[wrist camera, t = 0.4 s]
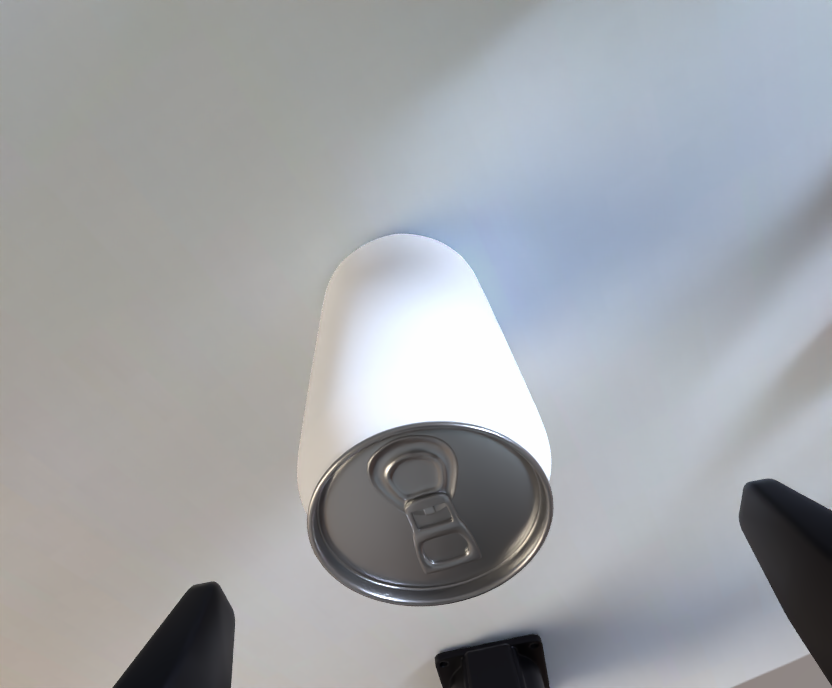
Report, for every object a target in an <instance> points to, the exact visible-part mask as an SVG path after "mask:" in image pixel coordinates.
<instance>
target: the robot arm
mask: <svg viewBox="0 0 832 688" xmlns="http://www.w3.org/2000/svg"><path fill="white" fill-rule="evenodd" d="M739 522H740V526H741V529H742V531H743V533H744V535H745V537H746V539H747V541H748V543H749V545H750V546H751V548H752V550H753V552H754V554H755V556H756V558H757V560H758V562H759V564H760V566H761V568H762V570H763V572H764V574H765V575H766V577H767V579H768V581H769V583H770V585H771V587H772V589H773V591H774V593H775V595H776V597H777V599H778V601H779V603H780V604H781V606H782V608H783V610H784V612H785V613H786V615H787V617H788V619H789V620H790V622H791V624H792V625H793V627H794V628H795V630H796V632H797V633H798V635H799V636H800V638H801V639H802V641H803V642H804V644H805V646H806V647H807V649H808V650H809V652H810V653H811V655H812V656H813V658H814V659H815V661H816V662H817V664H818V665H819V667H820V668H821V670H822V672H823V673H824V675H825V676H826V678H827V679H828V681H829V682H830V684H831V685H832V511H831V510H829V509H828V508H826V507H824V506H822V505H820V504H818V503H817V502H815V501H813V500H811V499H809V498H807V497H806V496H804V495H802V494H800V493H798V492H796V491H795V490H793V489H791V488H789V487H787V486H785V485H784V484H782V483H780V482H778V481H776V480H773V479H762V480H757V481H751V482H748V483H746V485H745V486H744V488H743V494H742V500H741V506H740V512H739ZM234 632H235V616H234V612H233V609H232V607H231V605H230V603H229V602H228V600H227V598H226V596H225V594H224V592H223V591H222V589H221V587H220V585H219V584H218V583H216V582H207V583H202V584H196V585H193V586H192V587H191V588H189V589H188V591H187V592H186V593H185V594H184V596H183V597H182V598H181V600H180V601H179V602H178V603H177V605H176V606H175V607H174V609H173V610H172V611H171V612H170V614H169V615H168V616H167V618H166V619H165V620H164V622H163V623H162V624H161V625H160V627H159V628H158V629H157V631H156V632H155V633H154V635H153V636H152V637H151V638H150V640H149V641H148V642H147V644H146V645H145V646H144V648H143V649H142V650H141V651H140V653H139V654H138V655H137V657H136V658H135V659H134V661H133V662H132V663H131V664H130V666H129V667H128V668H127V670H126V671H125V672H124V674H123V675H122V676H121V677H120V679H119V680H118V681H117V683H116V684H115V685H114V686H113V688H231V678H232V663H233V648H234ZM435 664H436V668H437V671H438V674H439V677H440V681H441V684H442V687H443V688H550V687H549V681H548V675H547V669H546V663H545V657H544V651H543V646H542V642H541V638H540V636H538V635H535V634H532V635H527V636H522V637H517V638H512V639H507V640H502V641H498V642H493V643H488V644H483V645H478V646H473V647H468V648H463V649H458V650H454V651H449V652H444V653H440V654H438V655H436V657H435Z"/></svg>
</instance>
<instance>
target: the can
mask: <svg viewBox="0 0 832 688" xmlns="http://www.w3.org/2000/svg"><path fill="white" fill-rule="evenodd" d="M550 474H551V451H550V446H549V441H548V438H547V434H546V431H545V428H544V425H543V423H542V420H541V418H540V415H539V413H538V411H537V408H536V406H535V404H534V401H533V399H532V397H531V395H530V392H529V390H528V388H527V386H526V383H525V381H524V379H523V377H522V375H521V372H520V370H519V368H518V366H517V363H516V361H515V359H514V357H513V355H512V352H511V350H510V348H509V346H508V344H507V342H506V339H505V337H504V335H503V333H502V331H501V328H500V326H499V324H498V322H497V320H496V318H495V315H494V313H493V311H492V309H491V307H490V305H489V302H488V300H487V298H486V296H485V294H484V292H483V290H482V288H481V286H480V284H479V281H478V280H477V278H476V276H475V274H474V272H473V271H472V269H471V268H470V266H469V265H468V263H467V262H466V261H465V260H464V259H463V258H462V257H461V256H460V255H459V254H458V253H457V252H456V251H454V250H453V249H452V248H450V247H449V246H447V245H445V244H443V243H441V242H439V241H437V240H434V239H432V238H428V237H425V236H420V235H414V234H393V235H388V236H384V237H381V238H378V239H375V240H373V241H371V242H369V243H367V244H365V245H363V246H361V247H360V248H358V249H356V250H355V251H354V252H352V253H351V254H350V255H348V256H347V257H346V258H345V259H344V260H343V261H342V262H341V263H340V265H339V266H338V267H337V269H336V270H335V272H334V273H333V275H332V277H331V279H330V281H329V284H328V287H327V290H326V293H325V297H324V302H323V307H322V312H321V318H320V323H319V329H318V335H317V340H316V346H315V352H314V358H313V364H312V370H311V376H310V382H309V388H308V394H307V400H306V406H305V412H304V418H303V424H302V431H301V437H300V444H299V452H298V461H297V483H298V490H299V495H300V498H301V501H302V504H303V507H304V509H305V512H306V514H307V530H308V536H309V540H310V543H311V546H312V549H313V551H314V553H315V555H316V557H317V558H318V560H319V562H320V563H321V564H322V566H323V567H324V568H325V569H326V570H327V571H328V573H330V574H331V575H332V576H333V577H334V578H335V579H336V580H337V581H339V582H340V583H341V584H343V585H344V586H346V587H347V588H349V589H351V590H353V591H355V592H357V593H359V594H361V595H363V596H366V597H368V598H371V599H374V600H377V601H381V602H385V603H390V604H396V605H404V606H436V605H444V604H450V603H455V602H459V601H463V600H467V599H470V598H473V597H476V596H479V595H481V594H484V593H486V592H488V591H490V590H492V589H494V588H496V587H498V586H500V585H502V584H503V583H505V582H506V581H508V580H509V579H511V578H512V577H514V576H515V575H516V574H517V573H519V572H520V571H521V570H522V569H523V568H524V567H525V566H526V565H527V564H528V563H529V562H530V561H531V560H532V559H533V558H534V556H535V555H536V554H537V552H538V551H539V550H540V548H541V546H542V545H543V543H544V541H545V539H546V537H547V535H548V532H549V529H550V526H551V522H552V517H553V496H552V491H551V487H550V484H549V480H550Z"/></svg>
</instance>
